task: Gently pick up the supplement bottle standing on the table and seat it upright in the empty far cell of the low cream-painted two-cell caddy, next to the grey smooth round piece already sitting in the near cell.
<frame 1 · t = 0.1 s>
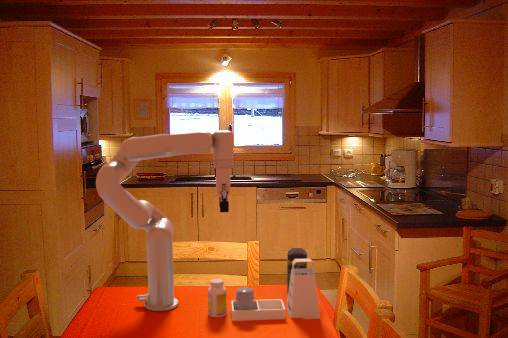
hand: (224, 209, 196), 37 cm above the table, tool pointing down, fingers open, 9 cm apart
supplement bottle: (217, 315, 189), on the table
grater: (302, 313, 191), on the table
grey smooth round piece: (244, 314, 188), point 1 cm above the table, touching caddy
coffee jar: (296, 295, 210), on the table
caddy: (257, 315, 188), on the table
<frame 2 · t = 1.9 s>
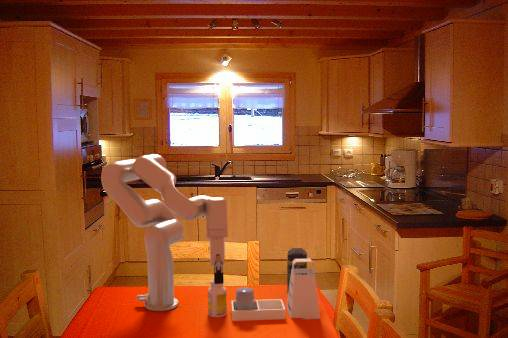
hand: (218, 279, 187), 14 cm above the table, tool pointing down, fingers open, 9 cm apart
nothing on the table moved.
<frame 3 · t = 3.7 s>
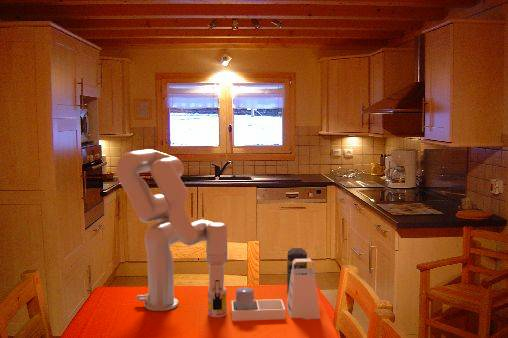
hand: (217, 305, 189), 4 cm above the table, tool pointing down, fingers closed on supplement bottle, 6 cm apart
supplement bottle: (217, 315, 189), on the table, touching gripper
everything else where it was.
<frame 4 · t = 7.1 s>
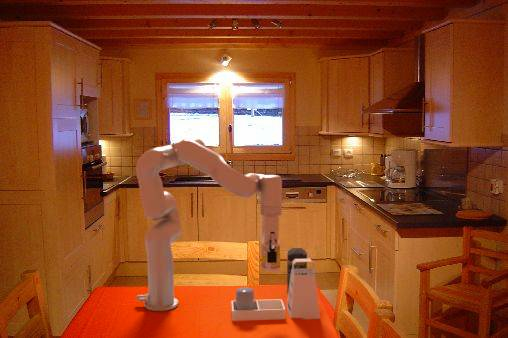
hand: (270, 258, 186), 21 cm above the table, tool pointing down, fingers closed on supplement bottle, 6 cm apart
supplement bottle: (270, 269, 187), point 17 cm above the table, touching gripper
everything else where it was.
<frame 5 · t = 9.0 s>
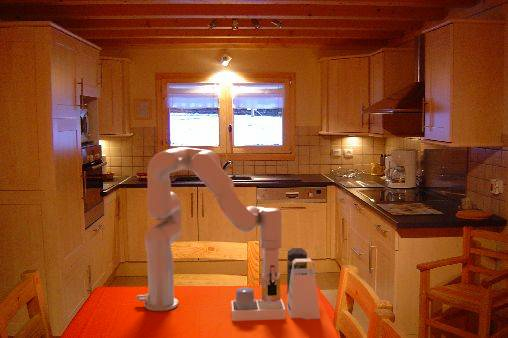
hand: (270, 291, 188), 9 cm above the table, tool pointing down, fingers closed on supplement bottle, 6 cm apart
supplement bottle: (271, 301, 188), point 5 cm above the table, touching gripper
everything else where it was.
when the fingers open (6 cm above the table, at t = 10.7 s): supplement bottle drops 1 cm, resting on caddy.
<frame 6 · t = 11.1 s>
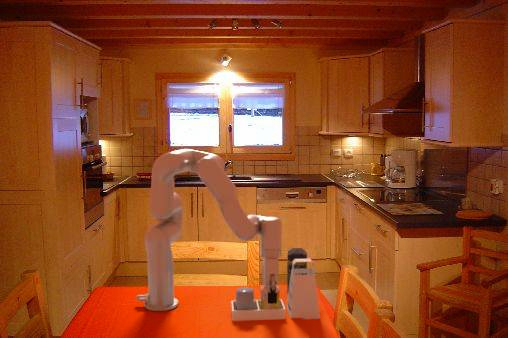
hand: (270, 298, 188), 6 cm above the table, tool pointing down, fingers open, 9 cm apart
supplement bottle: (270, 314, 189), resting on caddy
everything else where it was.
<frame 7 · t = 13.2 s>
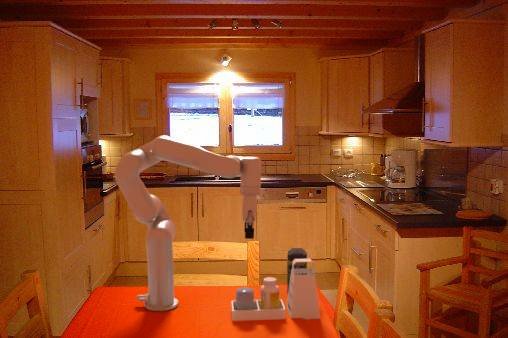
hand: (248, 235, 196), 27 cm above the table, tool pointing down, fingers open, 9 cm apart
nothing on the table moved.
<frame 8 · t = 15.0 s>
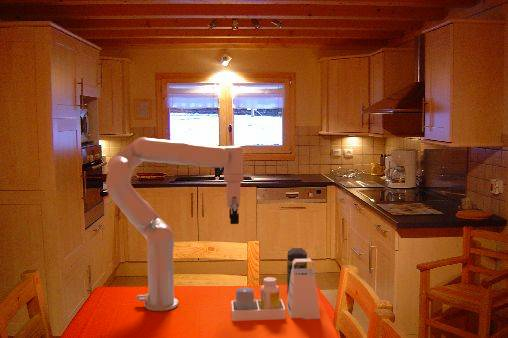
hand: (234, 221, 205), 30 cm above the table, tool pointing down, fingers open, 9 cm apart
nothing on the table moved.
at the end: supplement bottle 0.4 cm from the target spot on the caddy, point 0.4 cm above the caddy's base; supplement bottle tilted 0°; the gripper is holding nothing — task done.
